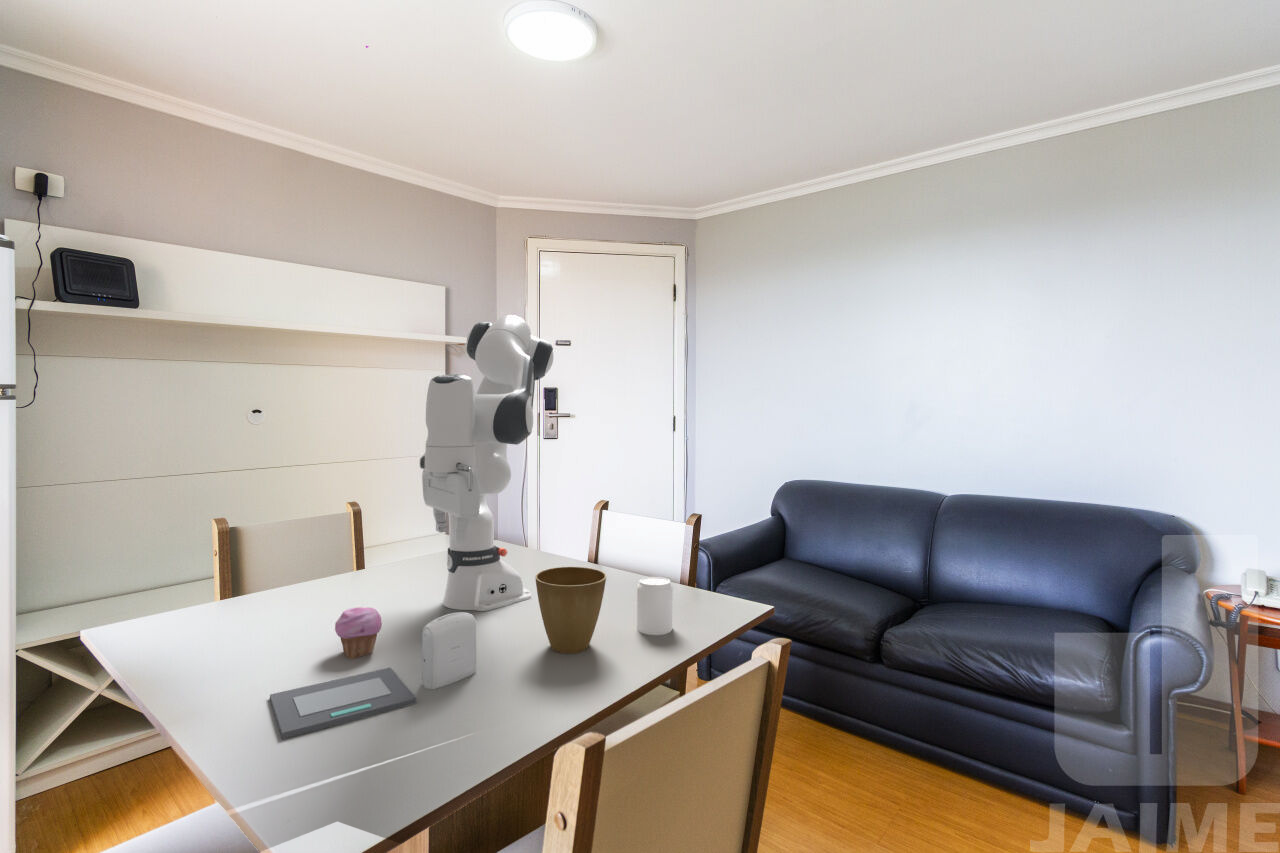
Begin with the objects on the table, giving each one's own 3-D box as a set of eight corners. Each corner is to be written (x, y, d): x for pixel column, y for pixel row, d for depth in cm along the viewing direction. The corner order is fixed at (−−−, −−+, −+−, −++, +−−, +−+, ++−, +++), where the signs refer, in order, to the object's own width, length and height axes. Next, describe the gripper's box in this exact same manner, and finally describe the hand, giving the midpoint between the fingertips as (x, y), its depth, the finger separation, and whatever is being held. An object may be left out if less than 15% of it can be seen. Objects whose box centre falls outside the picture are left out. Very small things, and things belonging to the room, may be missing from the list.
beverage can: (679, 632, 143) (679, 580, 143) (655, 641, 137) (656, 587, 137) (652, 624, 148) (653, 574, 148) (629, 632, 142) (629, 580, 142)
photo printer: (431, 693, 111) (431, 624, 111) (418, 686, 114) (418, 618, 113) (479, 675, 119) (480, 610, 119) (466, 669, 122) (466, 606, 121)
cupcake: (330, 654, 128) (330, 606, 128) (374, 645, 133) (374, 598, 133) (342, 668, 121) (342, 617, 121) (387, 657, 127) (388, 609, 126)
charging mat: (390, 672, 119) (390, 666, 119) (416, 703, 107) (416, 697, 107) (269, 700, 107) (269, 693, 107) (282, 739, 95) (282, 731, 95)
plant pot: (521, 657, 128) (521, 579, 127) (556, 633, 141) (557, 563, 141) (586, 668, 122) (586, 587, 122) (616, 643, 136) (617, 570, 136)
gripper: (489, 464, 109) (489, 543, 109) (448, 457, 125) (448, 526, 126) (454, 466, 105) (453, 547, 106) (416, 458, 122) (416, 529, 122)
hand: (450, 535), depth 116 cm, fingers open, 8 cm apart
